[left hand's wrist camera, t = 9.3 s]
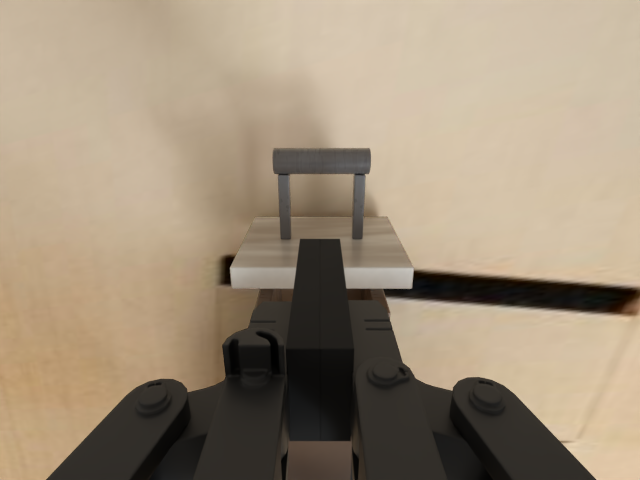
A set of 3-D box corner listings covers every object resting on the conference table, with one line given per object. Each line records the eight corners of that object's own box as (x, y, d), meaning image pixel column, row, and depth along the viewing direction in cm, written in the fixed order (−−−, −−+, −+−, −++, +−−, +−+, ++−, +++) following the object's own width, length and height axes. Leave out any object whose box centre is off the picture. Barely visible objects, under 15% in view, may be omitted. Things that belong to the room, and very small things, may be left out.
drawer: (249, 138, 24) (219, 161, 17) (393, 138, 24) (424, 161, 17) (267, 410, 32) (251, 505, 25) (374, 410, 32) (390, 505, 25)
